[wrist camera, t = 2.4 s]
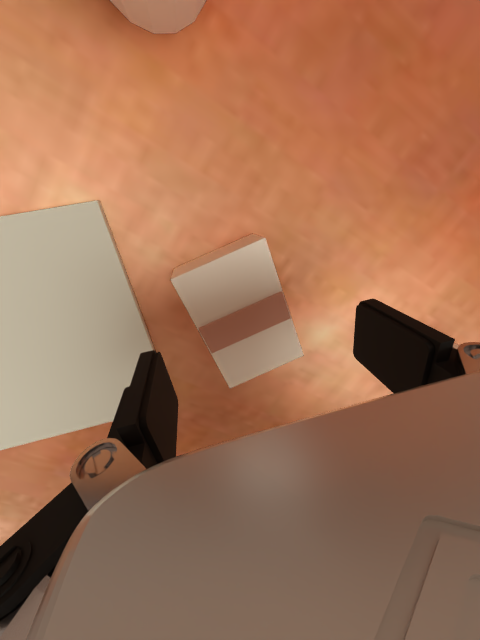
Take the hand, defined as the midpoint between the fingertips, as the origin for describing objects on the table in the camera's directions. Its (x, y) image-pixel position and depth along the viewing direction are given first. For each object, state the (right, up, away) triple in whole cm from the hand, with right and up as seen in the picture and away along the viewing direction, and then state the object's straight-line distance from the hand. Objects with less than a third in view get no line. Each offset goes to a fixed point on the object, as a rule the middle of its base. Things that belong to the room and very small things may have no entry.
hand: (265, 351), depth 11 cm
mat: (-16, 0, +6) cm, 17 cm away
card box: (-1, +3, +8) cm, 8 cm away
